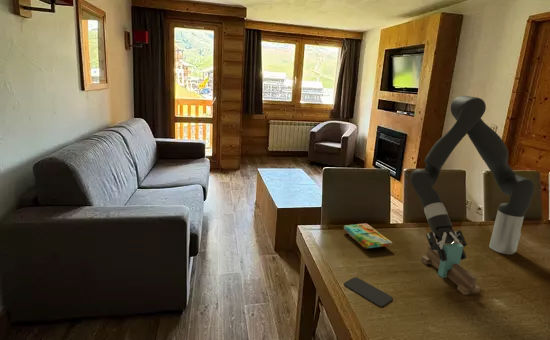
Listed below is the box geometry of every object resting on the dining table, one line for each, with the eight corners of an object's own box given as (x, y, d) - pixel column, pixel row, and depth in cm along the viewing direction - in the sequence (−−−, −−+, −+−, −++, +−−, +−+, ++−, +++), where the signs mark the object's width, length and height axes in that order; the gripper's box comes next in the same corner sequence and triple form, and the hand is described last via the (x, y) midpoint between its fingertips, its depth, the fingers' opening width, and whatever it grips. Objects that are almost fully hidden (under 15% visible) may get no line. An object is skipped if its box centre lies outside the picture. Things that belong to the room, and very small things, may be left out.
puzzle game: (366, 221, 154) (393, 240, 135) (364, 230, 155) (391, 251, 137) (344, 223, 150) (368, 243, 132) (343, 232, 151) (367, 254, 133)
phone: (355, 276, 116) (394, 297, 105) (355, 278, 116) (394, 300, 105) (342, 283, 111) (381, 306, 100) (342, 285, 111) (381, 309, 100)
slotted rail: (433, 259, 131) (436, 245, 129) (478, 292, 110) (482, 277, 109) (420, 260, 130) (423, 246, 128) (463, 294, 109) (467, 278, 107)
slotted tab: (452, 272, 122) (458, 243, 119) (457, 276, 120) (463, 246, 117) (437, 274, 120) (443, 244, 117) (442, 277, 118) (448, 247, 115)
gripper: (427, 214, 120) (444, 258, 112) (459, 212, 123) (478, 255, 115) (415, 221, 126) (430, 264, 118) (446, 219, 130) (463, 261, 122)
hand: (454, 259), depth 117 cm, fingers open, 7 cm apart
